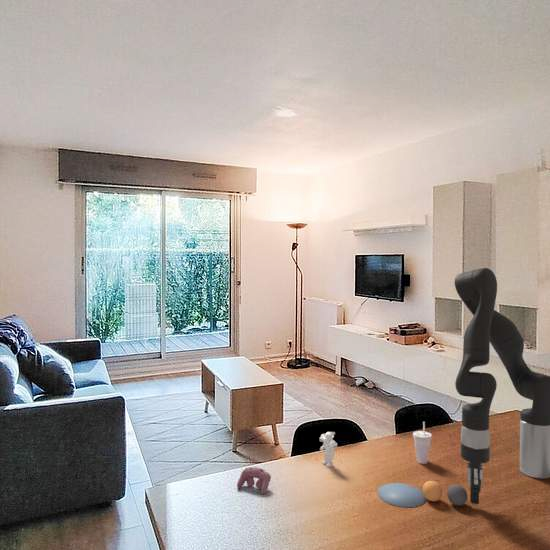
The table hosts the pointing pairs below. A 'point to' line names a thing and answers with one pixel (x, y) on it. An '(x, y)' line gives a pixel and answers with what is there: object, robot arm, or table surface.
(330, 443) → the white humanoid figurine
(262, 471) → the red animal figurine
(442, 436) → the table surface
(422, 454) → the smoothie
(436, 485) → the object ball
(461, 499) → the grey ball
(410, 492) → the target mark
